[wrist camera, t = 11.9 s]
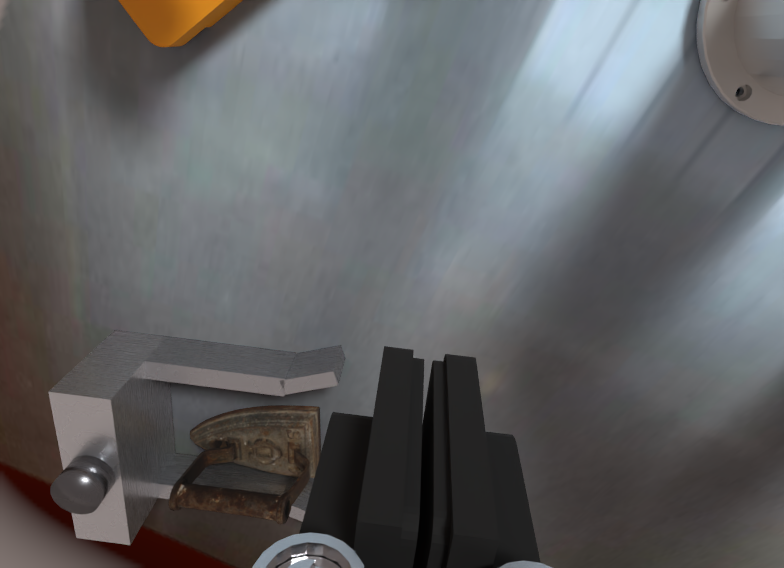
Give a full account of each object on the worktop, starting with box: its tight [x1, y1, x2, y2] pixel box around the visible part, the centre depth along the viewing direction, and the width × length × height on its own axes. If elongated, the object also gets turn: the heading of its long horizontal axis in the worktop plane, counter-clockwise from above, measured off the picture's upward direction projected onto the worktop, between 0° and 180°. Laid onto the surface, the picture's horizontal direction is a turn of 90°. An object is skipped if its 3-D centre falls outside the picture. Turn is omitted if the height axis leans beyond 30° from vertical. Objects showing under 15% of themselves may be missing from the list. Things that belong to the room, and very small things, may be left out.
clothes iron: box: [169, 406, 321, 524], centre depth 43 cm, size 7×11×10 cm, turn 89°
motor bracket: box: [49, 330, 345, 545], centre depth 40 cm, size 18×15×10 cm
